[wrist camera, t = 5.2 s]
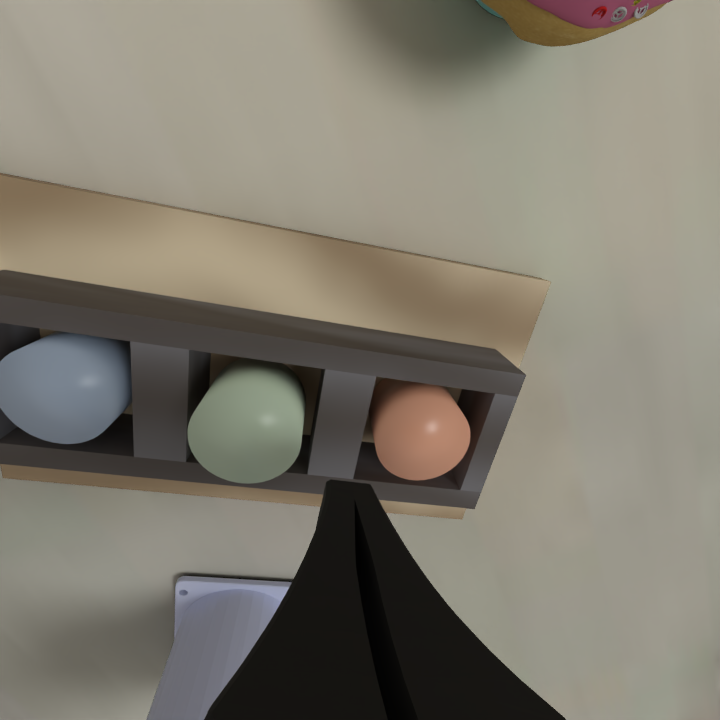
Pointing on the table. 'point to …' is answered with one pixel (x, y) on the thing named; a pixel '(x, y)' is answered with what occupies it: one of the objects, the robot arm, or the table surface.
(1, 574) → the table surface
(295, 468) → the button panel
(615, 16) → the cupcake
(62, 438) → the slate button
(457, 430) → the terracotta button
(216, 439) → the sage button
